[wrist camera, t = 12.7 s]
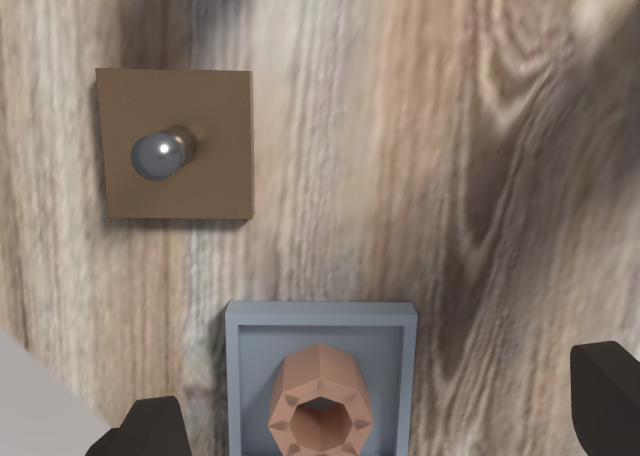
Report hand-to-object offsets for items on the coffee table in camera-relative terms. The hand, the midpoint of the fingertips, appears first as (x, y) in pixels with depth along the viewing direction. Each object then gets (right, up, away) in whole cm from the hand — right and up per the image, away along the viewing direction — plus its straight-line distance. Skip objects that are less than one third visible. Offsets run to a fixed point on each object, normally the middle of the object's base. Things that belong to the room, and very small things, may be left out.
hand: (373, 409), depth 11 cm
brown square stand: (-10, +9, +23) cm, 27 cm away
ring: (-1, -8, +27) cm, 28 cm away
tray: (-1, -8, +28) cm, 29 cm away
